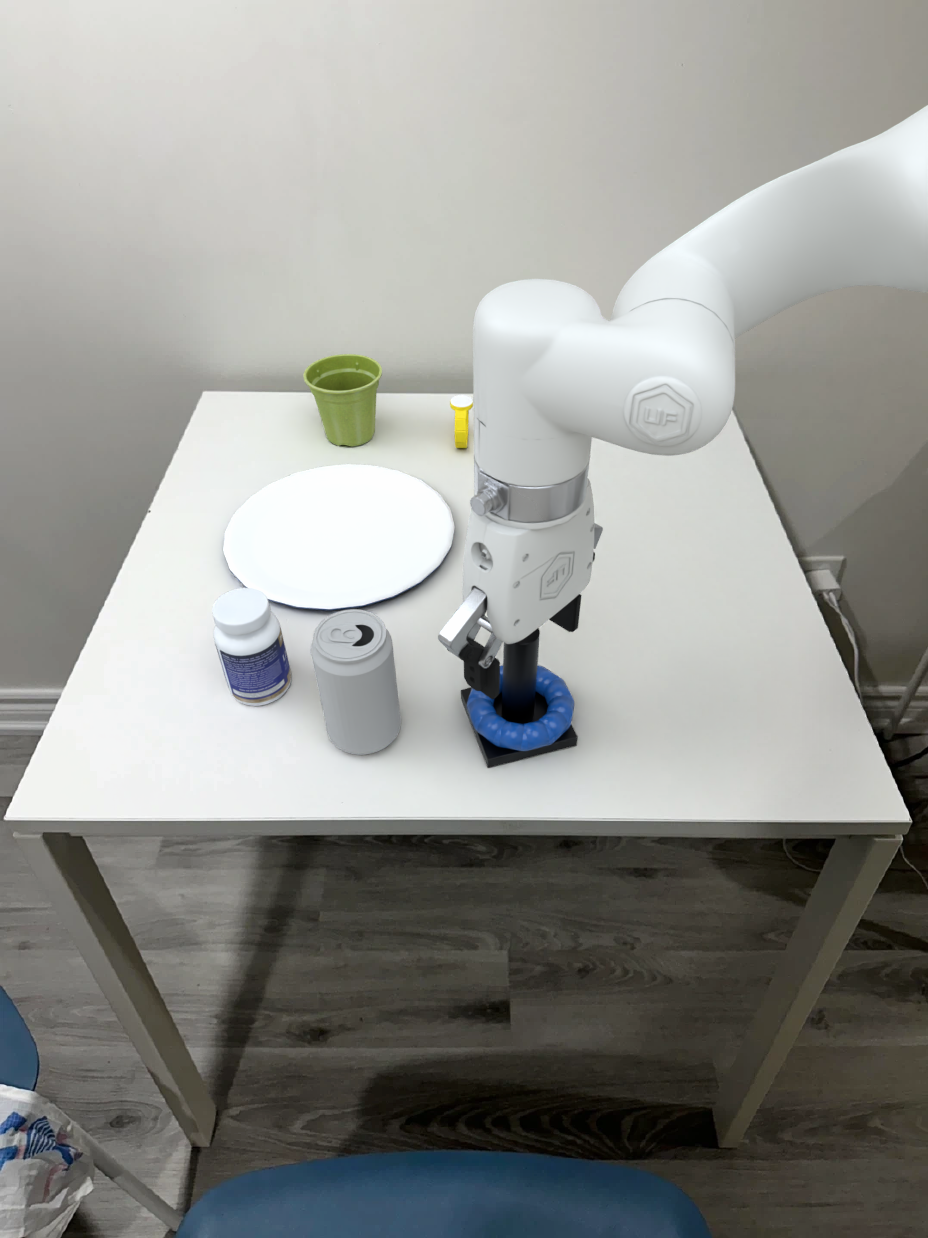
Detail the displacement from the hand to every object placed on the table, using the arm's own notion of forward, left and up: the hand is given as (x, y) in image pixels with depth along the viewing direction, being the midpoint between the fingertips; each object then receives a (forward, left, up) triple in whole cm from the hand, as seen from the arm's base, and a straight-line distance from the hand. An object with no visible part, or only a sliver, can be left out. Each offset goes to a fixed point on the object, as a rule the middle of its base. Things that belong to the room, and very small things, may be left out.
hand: (522, 654), depth 68 cm
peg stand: (0, 0, -9) cm, 9 cm away
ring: (0, 0, -6) cm, 6 cm away
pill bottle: (+21, -11, -9) cm, 25 cm away
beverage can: (+13, -3, -9) cm, 16 cm away
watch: (-8, -44, -9) cm, 46 cm away
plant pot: (+5, -50, -9) cm, 51 cm away
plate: (+10, -30, -9) cm, 33 cm away
